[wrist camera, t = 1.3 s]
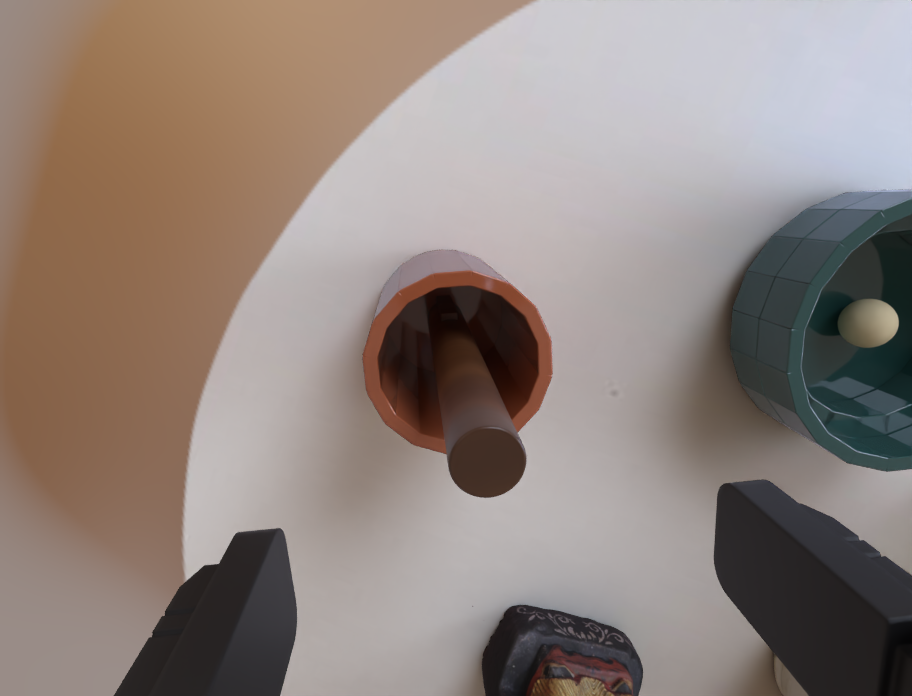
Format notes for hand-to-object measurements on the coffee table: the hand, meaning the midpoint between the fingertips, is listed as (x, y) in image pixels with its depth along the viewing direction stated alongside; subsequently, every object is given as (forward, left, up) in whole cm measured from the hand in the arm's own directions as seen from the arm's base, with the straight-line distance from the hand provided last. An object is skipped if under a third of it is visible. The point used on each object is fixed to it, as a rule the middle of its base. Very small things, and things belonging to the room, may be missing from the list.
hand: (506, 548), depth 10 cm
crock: (0, 0, -22) cm, 22 cm away
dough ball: (+2, +24, -20) cm, 32 cm away
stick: (0, 0, -22) cm, 22 cm away
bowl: (+2, +24, -22) cm, 33 cm away
